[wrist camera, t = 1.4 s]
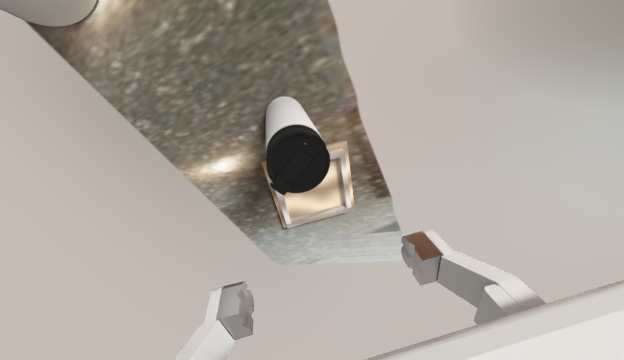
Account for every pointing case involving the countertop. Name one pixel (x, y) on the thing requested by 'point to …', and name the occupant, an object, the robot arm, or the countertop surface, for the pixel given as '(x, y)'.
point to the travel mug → (293, 148)
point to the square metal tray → (319, 192)
